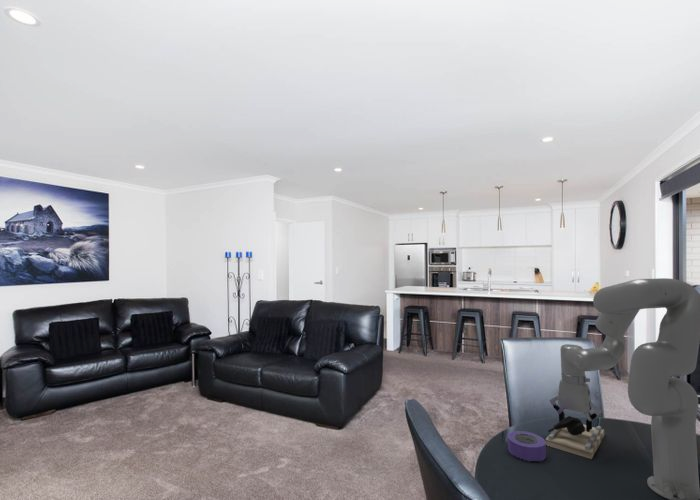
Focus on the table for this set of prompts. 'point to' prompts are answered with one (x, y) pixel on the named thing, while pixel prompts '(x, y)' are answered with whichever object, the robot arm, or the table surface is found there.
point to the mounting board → (576, 441)
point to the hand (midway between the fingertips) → (575, 427)
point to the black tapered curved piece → (570, 426)
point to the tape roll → (527, 446)
